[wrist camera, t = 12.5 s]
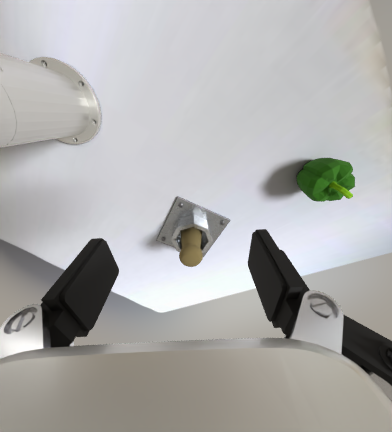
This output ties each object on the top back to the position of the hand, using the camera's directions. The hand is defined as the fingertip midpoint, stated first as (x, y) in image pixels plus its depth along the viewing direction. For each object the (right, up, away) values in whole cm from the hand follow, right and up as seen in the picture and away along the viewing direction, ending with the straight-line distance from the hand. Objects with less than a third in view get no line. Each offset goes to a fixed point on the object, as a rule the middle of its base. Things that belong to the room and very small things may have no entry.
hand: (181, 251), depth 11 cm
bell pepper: (+27, +12, +27) cm, 40 cm away
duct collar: (0, -1, +34) cm, 34 cm away
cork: (0, -2, +34) cm, 34 cm away
